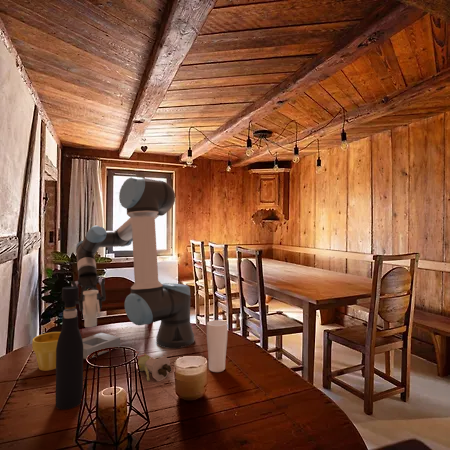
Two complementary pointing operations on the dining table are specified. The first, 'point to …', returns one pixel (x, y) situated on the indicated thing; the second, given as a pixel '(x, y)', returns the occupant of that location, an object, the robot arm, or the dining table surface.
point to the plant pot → (46, 350)
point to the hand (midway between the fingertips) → (91, 316)
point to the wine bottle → (69, 355)
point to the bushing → (91, 308)
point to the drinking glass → (217, 344)
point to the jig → (99, 343)
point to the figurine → (154, 366)
